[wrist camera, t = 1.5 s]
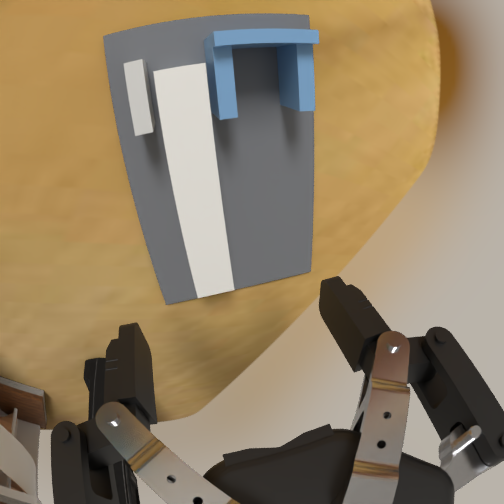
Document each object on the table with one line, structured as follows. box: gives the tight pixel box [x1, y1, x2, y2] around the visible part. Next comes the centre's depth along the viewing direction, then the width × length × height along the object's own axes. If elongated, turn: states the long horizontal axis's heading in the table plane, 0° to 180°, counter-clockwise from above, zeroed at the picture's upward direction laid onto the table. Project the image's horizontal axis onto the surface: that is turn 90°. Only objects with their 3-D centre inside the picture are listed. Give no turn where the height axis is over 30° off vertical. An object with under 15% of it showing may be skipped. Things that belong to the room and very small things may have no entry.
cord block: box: [153, 63, 234, 298], centre depth 23 cm, size 3×18×4 cm, turn 4°
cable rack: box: [103, 14, 319, 305], centre depth 23 cm, size 16×26×6 cm, turn 4°
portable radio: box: [84, 358, 140, 504], centre depth 26 cm, size 8×6×25 cm
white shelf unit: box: [0, 377, 47, 504], centre depth 20 cm, size 11×11×35 cm
